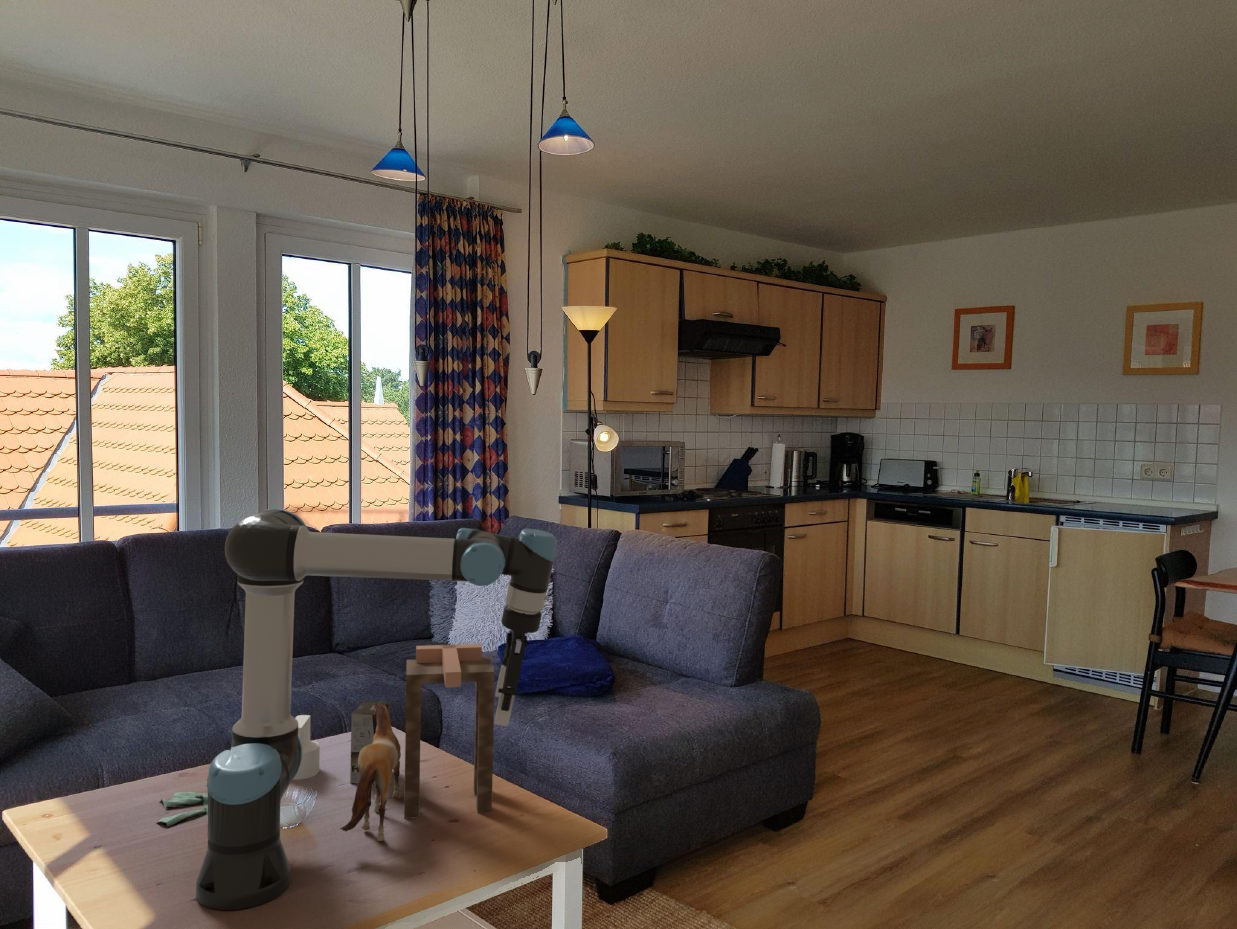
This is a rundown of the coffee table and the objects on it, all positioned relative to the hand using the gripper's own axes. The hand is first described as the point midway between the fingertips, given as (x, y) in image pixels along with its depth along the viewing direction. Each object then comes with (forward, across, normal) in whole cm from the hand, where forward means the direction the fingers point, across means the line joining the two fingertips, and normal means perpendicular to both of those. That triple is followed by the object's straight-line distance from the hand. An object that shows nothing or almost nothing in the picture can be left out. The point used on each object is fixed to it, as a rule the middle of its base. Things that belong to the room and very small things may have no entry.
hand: (501, 710), depth 176 cm
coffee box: (+33, +30, +24) cm, 51 cm away
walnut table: (+28, +13, +6) cm, 32 cm away
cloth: (+39, +14, +58) cm, 71 cm away
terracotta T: (-2, +11, +11) cm, 16 cm away
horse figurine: (+31, +6, +22) cm, 38 cm away
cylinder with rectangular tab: (+37, +33, +40) cm, 63 cm away
